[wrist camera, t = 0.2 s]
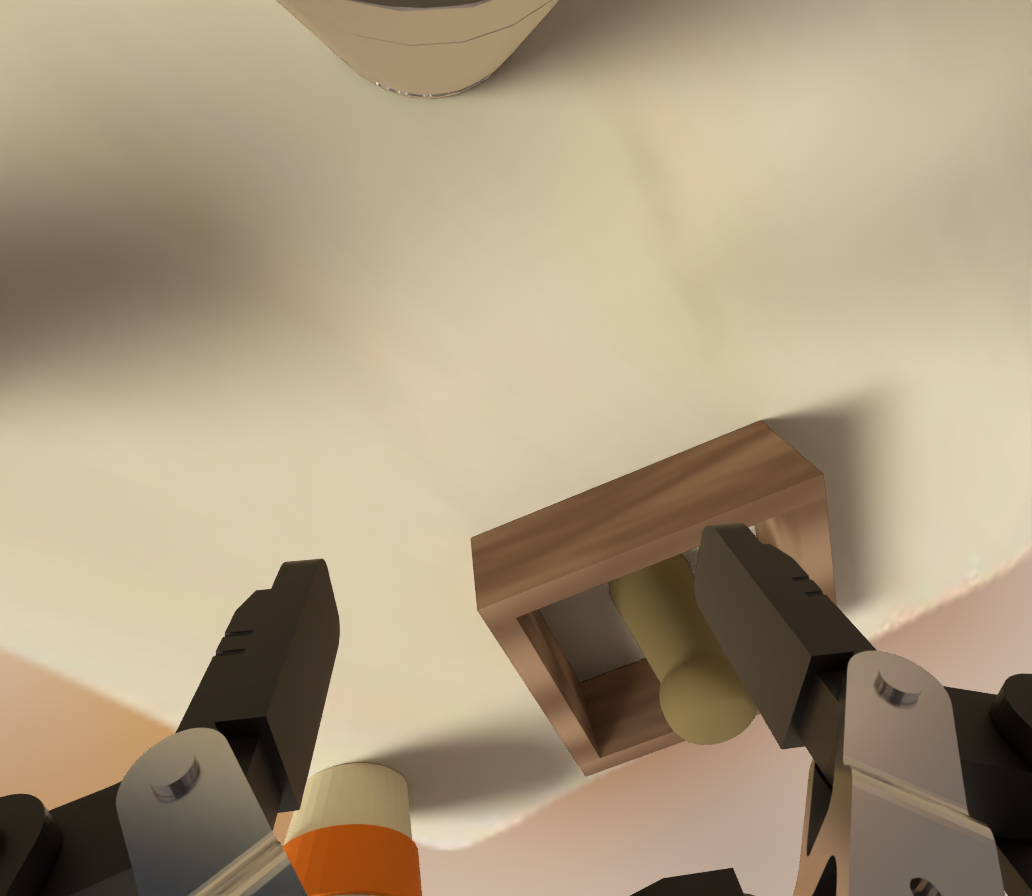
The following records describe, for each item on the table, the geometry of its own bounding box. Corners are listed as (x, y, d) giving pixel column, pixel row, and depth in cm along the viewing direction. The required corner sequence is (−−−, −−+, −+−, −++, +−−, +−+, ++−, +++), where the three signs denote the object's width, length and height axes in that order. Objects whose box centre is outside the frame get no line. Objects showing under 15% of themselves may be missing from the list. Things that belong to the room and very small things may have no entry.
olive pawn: (706, 558, 37) (798, 699, 28) (664, 617, 40) (736, 765, 30) (632, 540, 36) (704, 685, 26) (594, 604, 38) (647, 756, 29)
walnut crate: (470, 538, 34) (477, 610, 28) (760, 420, 32) (823, 473, 27) (567, 701, 43) (585, 776, 38) (793, 616, 42) (844, 683, 37)
